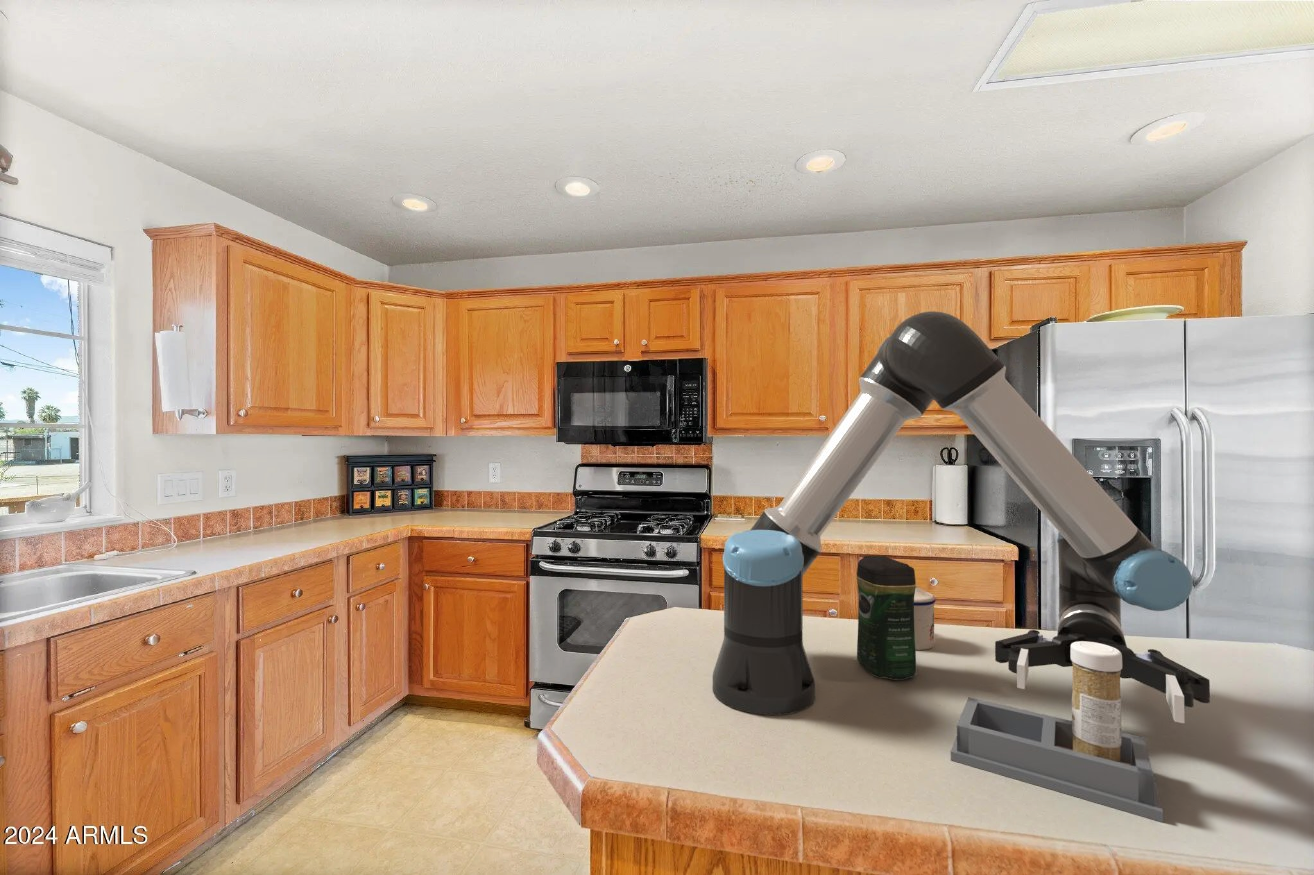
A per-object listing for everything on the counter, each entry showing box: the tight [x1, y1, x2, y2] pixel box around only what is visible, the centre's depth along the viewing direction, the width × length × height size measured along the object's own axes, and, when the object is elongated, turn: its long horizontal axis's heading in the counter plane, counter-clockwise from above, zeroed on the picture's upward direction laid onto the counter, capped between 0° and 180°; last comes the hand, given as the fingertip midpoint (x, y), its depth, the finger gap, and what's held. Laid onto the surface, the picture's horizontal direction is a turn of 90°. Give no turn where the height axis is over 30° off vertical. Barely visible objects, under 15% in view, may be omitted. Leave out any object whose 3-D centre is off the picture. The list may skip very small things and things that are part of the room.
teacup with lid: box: [914, 585, 936, 651], centre depth 109 cm, size 12×9×12 cm
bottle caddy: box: [950, 696, 1164, 823], centre depth 66 cm, size 19×11×4 cm, turn 54°
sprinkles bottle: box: [1070, 641, 1122, 763], centre depth 63 cm, size 5×5×14 cm
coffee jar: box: [856, 555, 917, 681], centre depth 94 cm, size 10×8×19 cm
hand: (1094, 692), depth 62 cm, fingers open, 13 cm apart
